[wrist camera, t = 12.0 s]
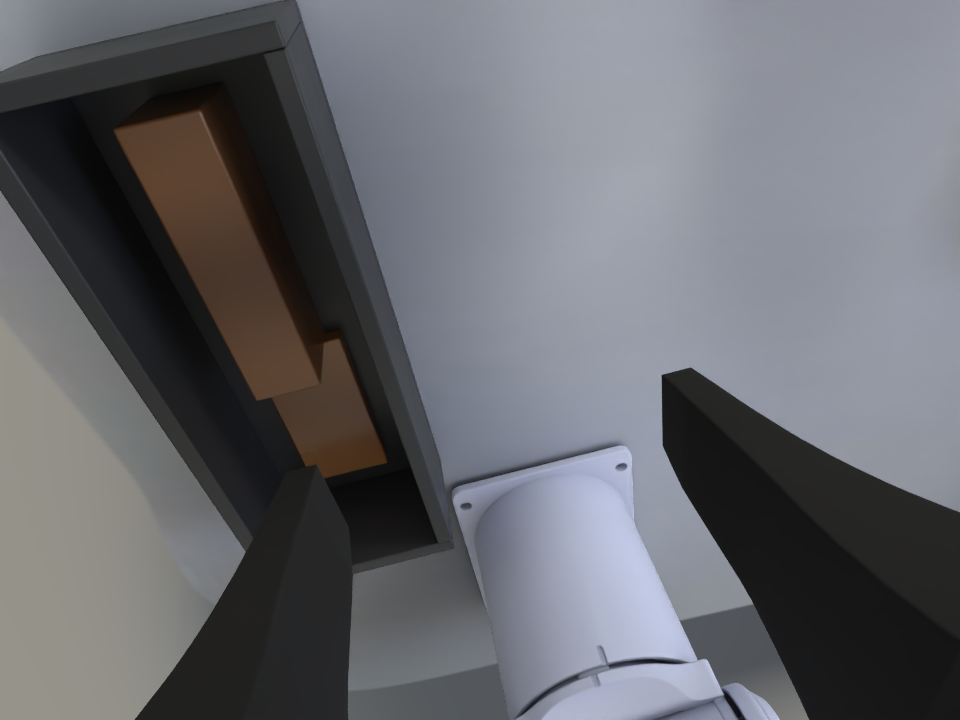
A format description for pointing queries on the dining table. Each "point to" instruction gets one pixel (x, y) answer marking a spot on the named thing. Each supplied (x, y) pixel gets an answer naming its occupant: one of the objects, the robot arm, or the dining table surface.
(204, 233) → the notched wooden bar
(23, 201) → the tub
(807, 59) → the dining table surface
